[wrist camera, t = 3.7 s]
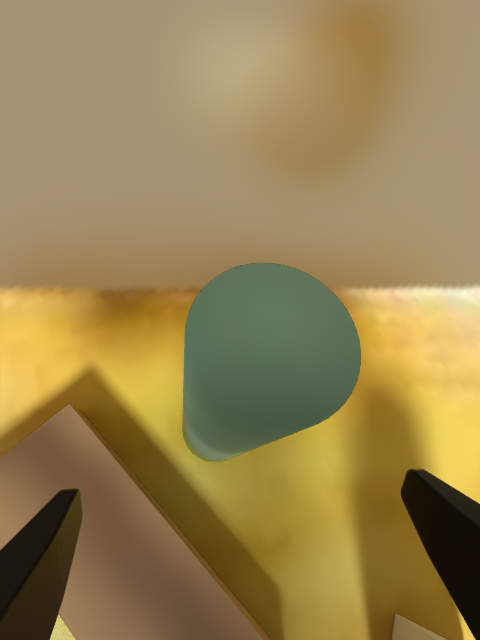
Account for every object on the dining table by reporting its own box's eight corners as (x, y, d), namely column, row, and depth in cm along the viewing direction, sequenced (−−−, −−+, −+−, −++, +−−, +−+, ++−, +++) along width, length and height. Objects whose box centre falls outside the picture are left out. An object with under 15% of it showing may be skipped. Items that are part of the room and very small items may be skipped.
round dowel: (214, 477, 18) (285, 478, 6) (168, 425, 19) (144, 330, 7) (261, 426, 20) (392, 342, 8) (216, 380, 21) (269, 236, 8)
